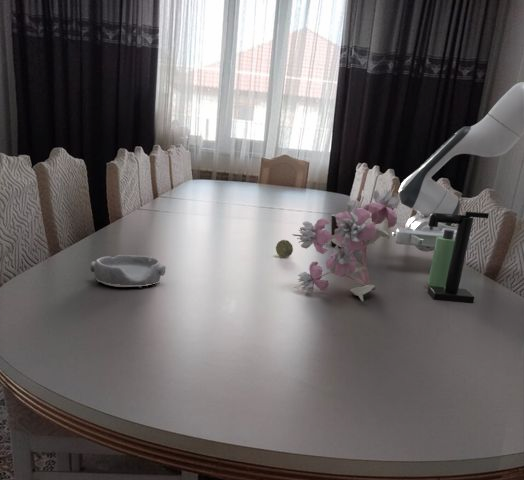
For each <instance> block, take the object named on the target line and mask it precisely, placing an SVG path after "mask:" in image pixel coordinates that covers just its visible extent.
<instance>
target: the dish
mask: <svg viewBox="0 0 524 480" xmlns="http://www.w3.org/2000/svg"><path fill="white" fill-rule="evenodd" d="M166 268H167V267H166V265H162V263H161V261H160V260H159V258H156V257H151V256H149V255H133V254H130V255H129V254H117V255H115V256H113V257H112V256H110V255H106V256H102V257H99V258H97V259H96V260H95V261H91V263H90V272H92V273H94V278H95V277H96V278H97V279H98V280H100V281H103V282H106V283H111V284H120V285H146V284H153V283H156V282H158V281H159V282H160V280H161V277H163V276H165V273H166ZM96 278H95V279H96ZM159 282H158V283H159ZM140 288H141V287H139V289H140Z"/></svg>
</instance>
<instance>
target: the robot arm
mask: <svg viewBox="0 0 524 480" xmlns="http://www.w3.org/2000/svg"><path fill="white" fill-rule="evenodd" d="M523 136H524V81H521V82H518V83H515V84H514V85H513V86H511V88H510V89H508V91H506V92H505V94H503V95H502V96H501V97H500V99H498V100H497V102H496V103H495V104H494V105H493V106H492V108H490V110H489V111H488V113H487V114H486V115H485V116H484V117H483V118H482V119H480V121H478V122H477V123H475V124H473V125H471V126H463V127H461V128H460V129H458V130H457V131H456V132H455V133H453V134H452V135H451V136H450V137H449V138H448V139H447V140H446V141H445V142H443V144H442V145H441V146H440V147H439V148H438V149H436V150H435V151H434V153H432V154H431V155H430V157H428V158H427V159H426V160H425V161H424V162H423V163H422V164H421V165H420V166H419V167H418V168H417V169H416V170H414V171H413V172H412V173H411V174H410V175H408V176H407V177H406V178H405V179H404V181H402V183H401V184H400V187H399V189H398V195H399V199H400V201H399V202H400V203H401V204H402V205H404V206H405V207H407V208H409V209H412V210H413V211H415V212H417V213H418V214H415V215H413V216H410V217H409V218H408V220H406V223H405V226H404V227H399V228H396V230H395V231H392V232H391V235H392V236H393V237H395V238H394V242H395V244H397V245H403V246H404V245H405V246H413V247H415V248H416V249H417V250H419V251H420V252H432V251H433V252H434V249H435V244H436V239H437V237H443V234H444V230H453V231H454V235H453V238H455V236H456V232H457V227H458V226H456V225H452V223H440V222H438V227H430V226H428V225H429V220H430V216H431V214H433V213H443V214H455V215H460V211H461V210H460V209H461V200H460V197H459V196H458V195H457V194H455V193H453V192H452V191H451V190H449V189H447V188H445V187H444V186H443V185H442V184H439V183H438V182H437V181H435V180H434V179H433V178H432V177H433V176H434V175H435V174H436V173H437V172H438V171H439V170H440V169H442V167H443V166H445V165H446V164H447V163H448V162H449V161H450V160H451V159H452V158H454V157H455V156H459V155H464V154H466V155H474V156H477V157H484V158H495V157H501V156H503V155H505V154H507V153H508V152H509V151H510V150H511V149H512V148H513V147H514V146H515V145H516V144H517V143H518V142H519V141H520V139H521V138H522V137H523ZM471 244H472V235H470V237H469V242H468V247H467V251H469V250H470V249H471Z"/></svg>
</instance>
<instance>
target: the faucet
mask: <svg viewBox="0 0 524 480" xmlns="http://www.w3.org/2000/svg"><path fill="white" fill-rule="evenodd" d="M489 216H490V213H488V212H480V211H479V212H478V211H466V210H465V211H464V213H463V214H458V215H455V214H443V213H433V214H431V216H430V220H429V225H428V226H430V227H438V222H440V223H452V224H453V225H454V224H455V225H457V226H456V227H457V232H456V236H455V241H454V246H453V251H452V256H451V260H450V265H449V270H448V275H447V280H446V285H445V287H437V286H430V285H428V286H427V293H428V294H429V295H430V297H431V298H432V299H433V300H434V301H446V302H448V301H449V302H456V303H457V302H458V303H468V304H473V303H474V301H475V296H474V295H473V294H472V293H471V292H470V291H469V290H468V289H467V288H459V287H460V283H461V277H462V274H463V269H464V265H465V260H466V255H467V251H468V250H467V247H468V242H469V237H470V236H471V233H472V228H473V224H474V218H480V219H489Z"/></svg>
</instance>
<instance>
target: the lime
mask: <svg viewBox="0 0 524 480" xmlns="http://www.w3.org/2000/svg"><path fill="white" fill-rule="evenodd" d="M293 251H294V248H293V244H292V243H291V242H290V240H287V239H281V240H280V241H278V242H277V243H276V246H275V252H276V255H278V257H280V258H283V259H286V258H289V257H290V256H291V255H292V254H293Z"/></svg>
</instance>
